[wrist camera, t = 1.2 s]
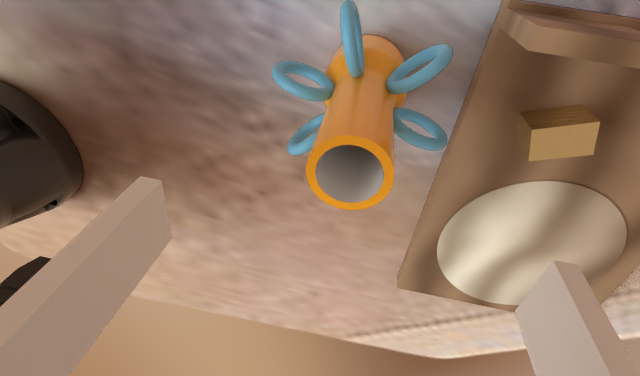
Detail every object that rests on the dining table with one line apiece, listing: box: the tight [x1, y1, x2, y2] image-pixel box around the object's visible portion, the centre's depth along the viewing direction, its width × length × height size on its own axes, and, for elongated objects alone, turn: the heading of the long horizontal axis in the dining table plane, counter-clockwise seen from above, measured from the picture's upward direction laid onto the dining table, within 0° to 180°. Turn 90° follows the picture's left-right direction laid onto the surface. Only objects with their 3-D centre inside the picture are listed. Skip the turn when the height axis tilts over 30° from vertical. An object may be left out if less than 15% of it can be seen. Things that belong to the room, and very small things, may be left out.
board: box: [397, 0, 640, 312], centre depth 29 cm, size 20×29×8 cm
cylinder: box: [272, 0, 453, 210], centre depth 22 cm, size 12×10×15 cm
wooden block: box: [516, 104, 600, 161], centre depth 25 cm, size 4×2×3 cm, turn 103°
